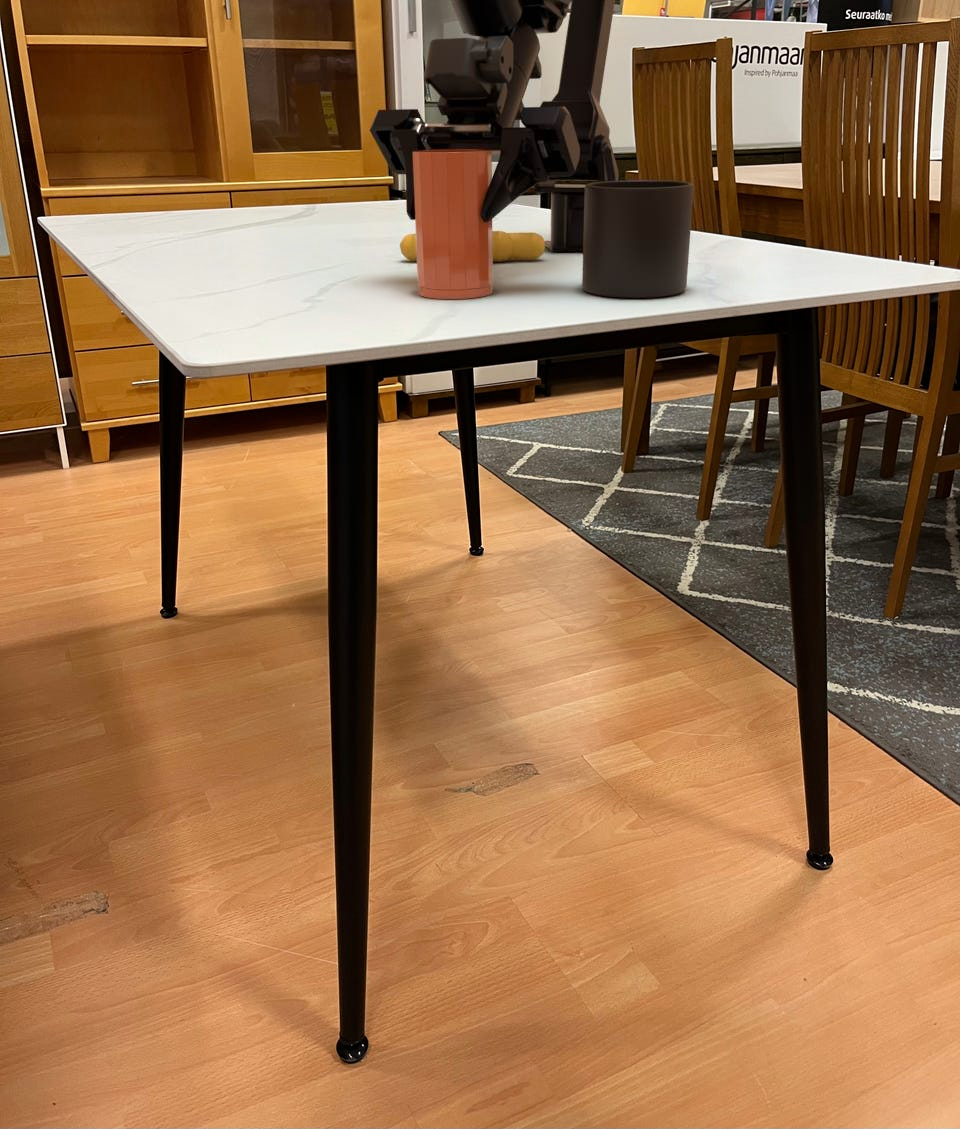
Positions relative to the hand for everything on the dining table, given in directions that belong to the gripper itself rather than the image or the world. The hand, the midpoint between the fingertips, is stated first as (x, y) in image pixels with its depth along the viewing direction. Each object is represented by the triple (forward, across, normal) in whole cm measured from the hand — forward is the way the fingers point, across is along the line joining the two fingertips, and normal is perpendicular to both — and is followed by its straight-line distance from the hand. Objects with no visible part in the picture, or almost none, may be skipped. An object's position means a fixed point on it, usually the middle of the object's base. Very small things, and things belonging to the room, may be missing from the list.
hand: (446, 217), depth 84 cm
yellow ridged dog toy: (-9, -7, +18) cm, 22 cm away
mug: (-2, +14, +11) cm, 18 cm away
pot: (+4, 0, +6) cm, 7 cm away
